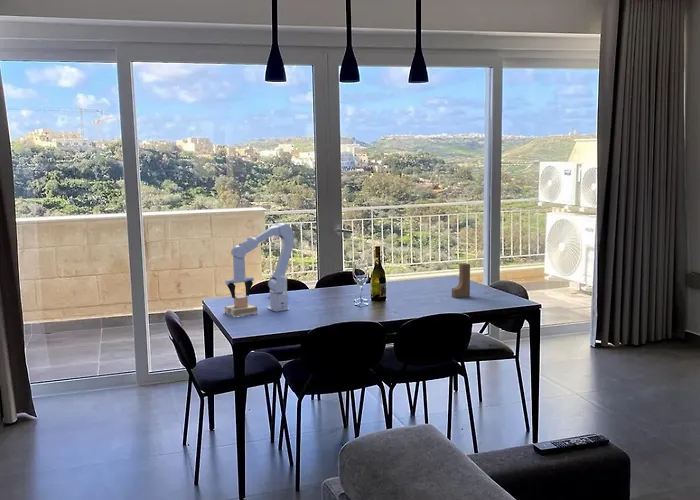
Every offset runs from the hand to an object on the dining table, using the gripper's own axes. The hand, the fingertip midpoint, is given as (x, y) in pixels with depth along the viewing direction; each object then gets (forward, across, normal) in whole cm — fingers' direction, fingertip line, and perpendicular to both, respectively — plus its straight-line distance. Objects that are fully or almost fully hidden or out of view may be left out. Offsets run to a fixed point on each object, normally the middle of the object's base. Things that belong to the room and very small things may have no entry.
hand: (240, 296), depth 336 cm
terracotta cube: (+5, 0, 0) cm, 5 cm away
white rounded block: (+9, -35, -25) cm, 44 cm away
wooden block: (+9, -112, +40) cm, 119 cm away
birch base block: (+9, 0, 0) cm, 9 cm away
